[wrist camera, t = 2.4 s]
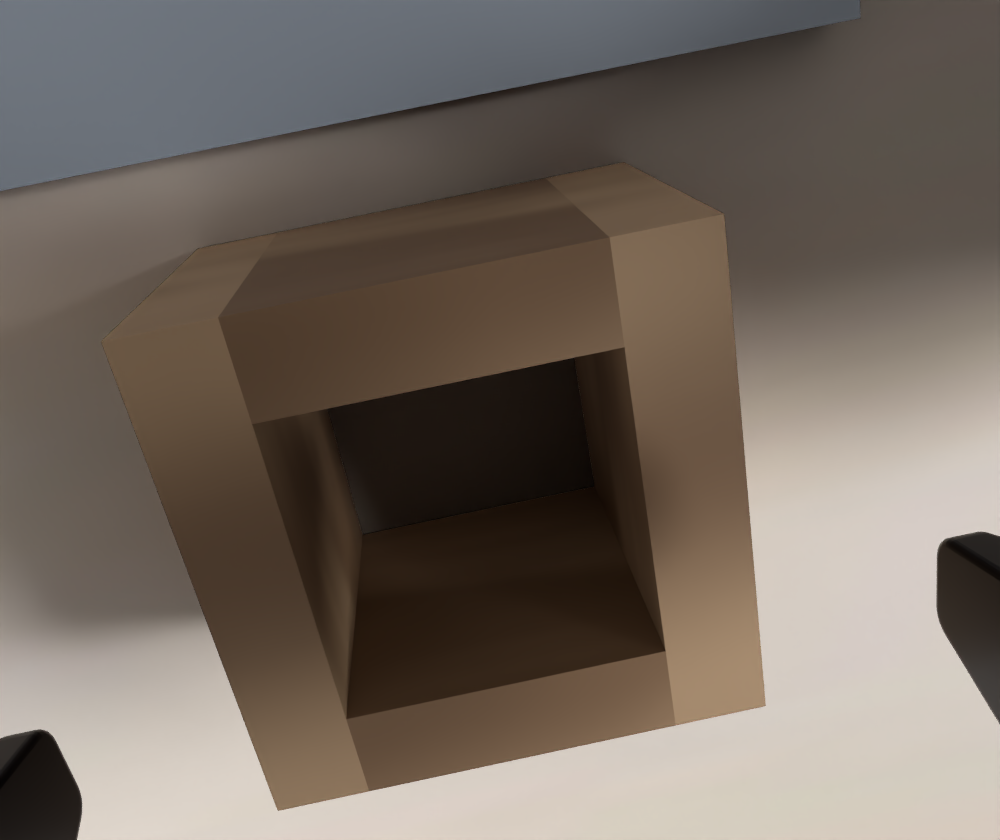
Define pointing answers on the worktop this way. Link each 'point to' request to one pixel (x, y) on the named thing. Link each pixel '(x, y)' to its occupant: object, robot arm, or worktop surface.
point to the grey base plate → (311, 64)
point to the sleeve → (471, 536)
